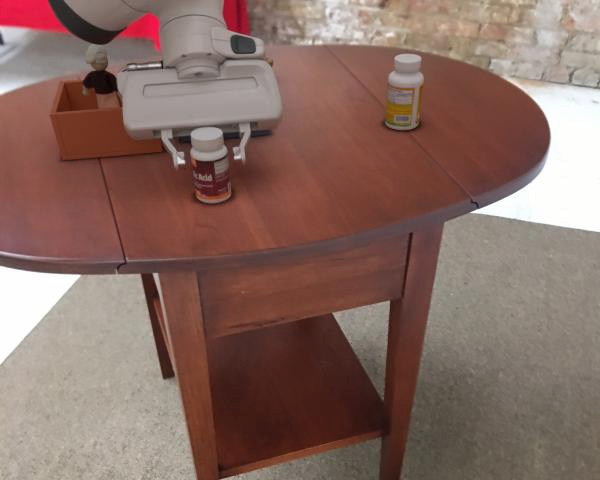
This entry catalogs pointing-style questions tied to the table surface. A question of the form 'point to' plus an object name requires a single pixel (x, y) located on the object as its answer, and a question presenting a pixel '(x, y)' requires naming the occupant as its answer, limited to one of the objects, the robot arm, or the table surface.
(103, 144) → the terracotta bin
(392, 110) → the supplement bottle
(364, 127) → the table surface
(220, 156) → the pill bottle
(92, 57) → the grandmother figurine
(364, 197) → the table surface
